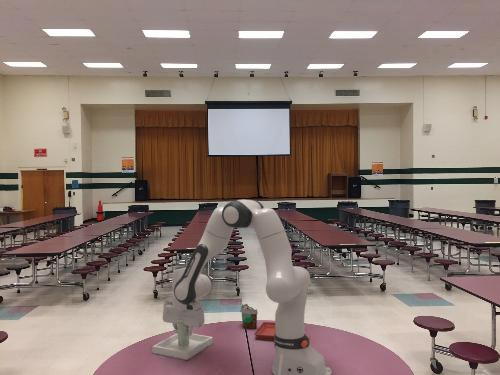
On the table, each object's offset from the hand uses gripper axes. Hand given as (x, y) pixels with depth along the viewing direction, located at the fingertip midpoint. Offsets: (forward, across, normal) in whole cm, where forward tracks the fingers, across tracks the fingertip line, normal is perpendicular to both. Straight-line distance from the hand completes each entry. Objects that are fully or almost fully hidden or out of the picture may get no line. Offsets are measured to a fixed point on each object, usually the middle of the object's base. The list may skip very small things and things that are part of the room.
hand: (183, 334), depth 189 cm
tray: (+6, 0, 0) cm, 6 cm away
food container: (+6, +13, +36) cm, 39 cm away
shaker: (+4, 0, 0) cm, 4 cm away
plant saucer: (+7, +31, +32) cm, 45 cm away
